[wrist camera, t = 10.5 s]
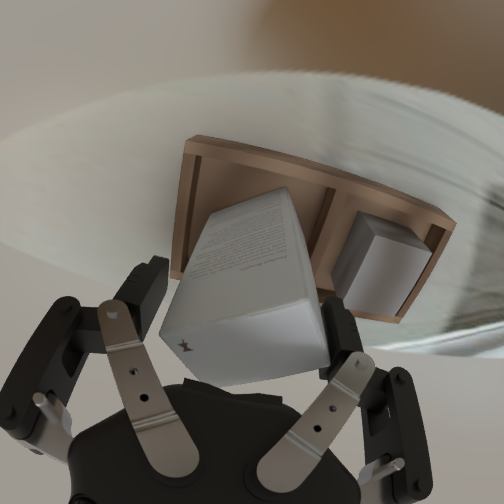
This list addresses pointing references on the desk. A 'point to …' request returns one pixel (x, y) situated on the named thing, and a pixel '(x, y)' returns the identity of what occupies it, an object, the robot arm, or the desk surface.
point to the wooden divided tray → (319, 222)
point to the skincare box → (248, 298)
